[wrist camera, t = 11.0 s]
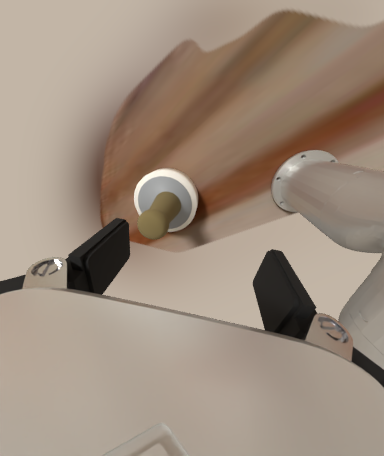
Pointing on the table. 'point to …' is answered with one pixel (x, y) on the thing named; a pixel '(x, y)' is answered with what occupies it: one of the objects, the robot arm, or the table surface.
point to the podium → (172, 183)
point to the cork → (159, 215)
